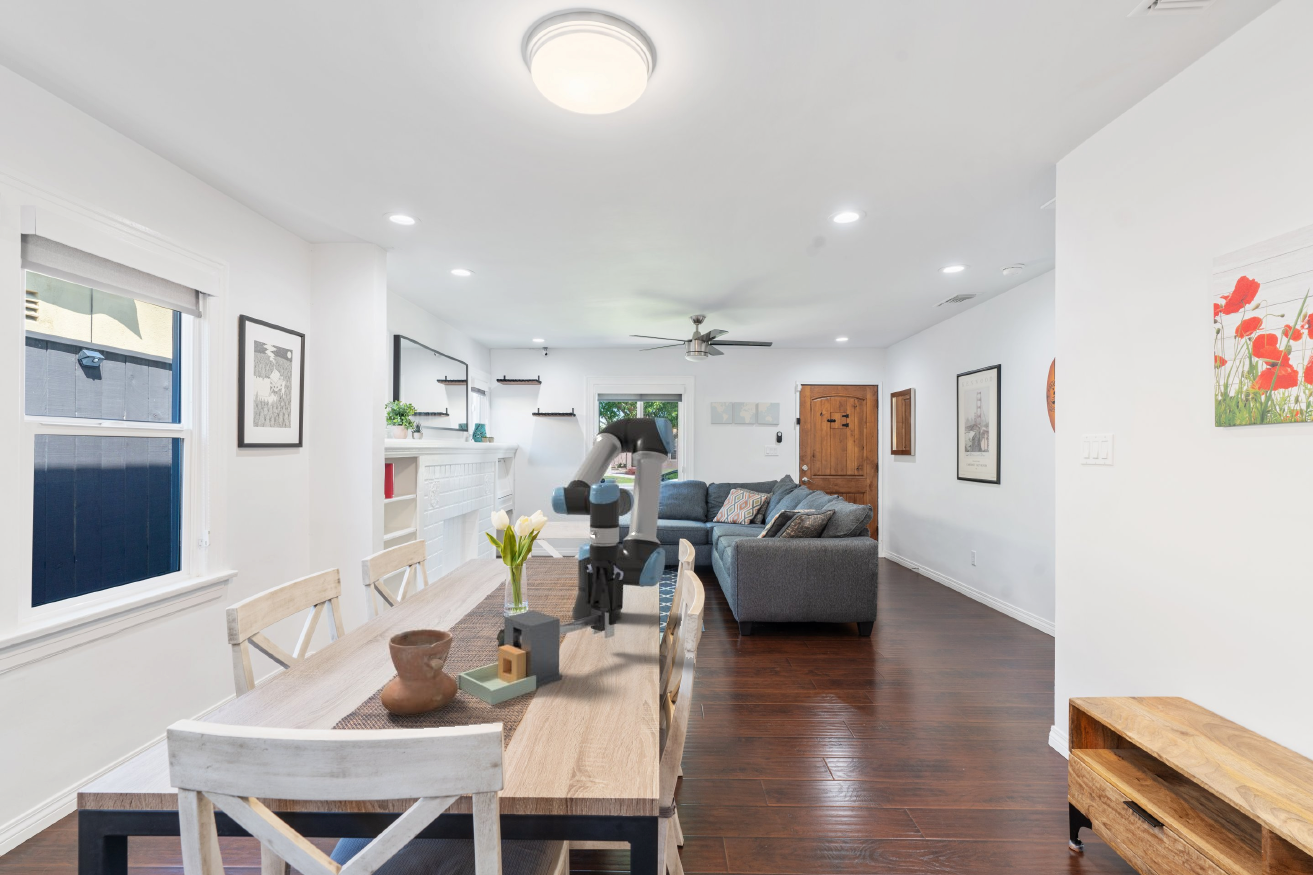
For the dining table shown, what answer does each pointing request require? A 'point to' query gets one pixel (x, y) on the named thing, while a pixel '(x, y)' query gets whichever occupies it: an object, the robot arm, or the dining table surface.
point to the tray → (493, 684)
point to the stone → (500, 638)
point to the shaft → (582, 623)
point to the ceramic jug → (419, 673)
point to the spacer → (511, 664)
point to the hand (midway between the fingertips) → (603, 634)
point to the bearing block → (536, 644)
